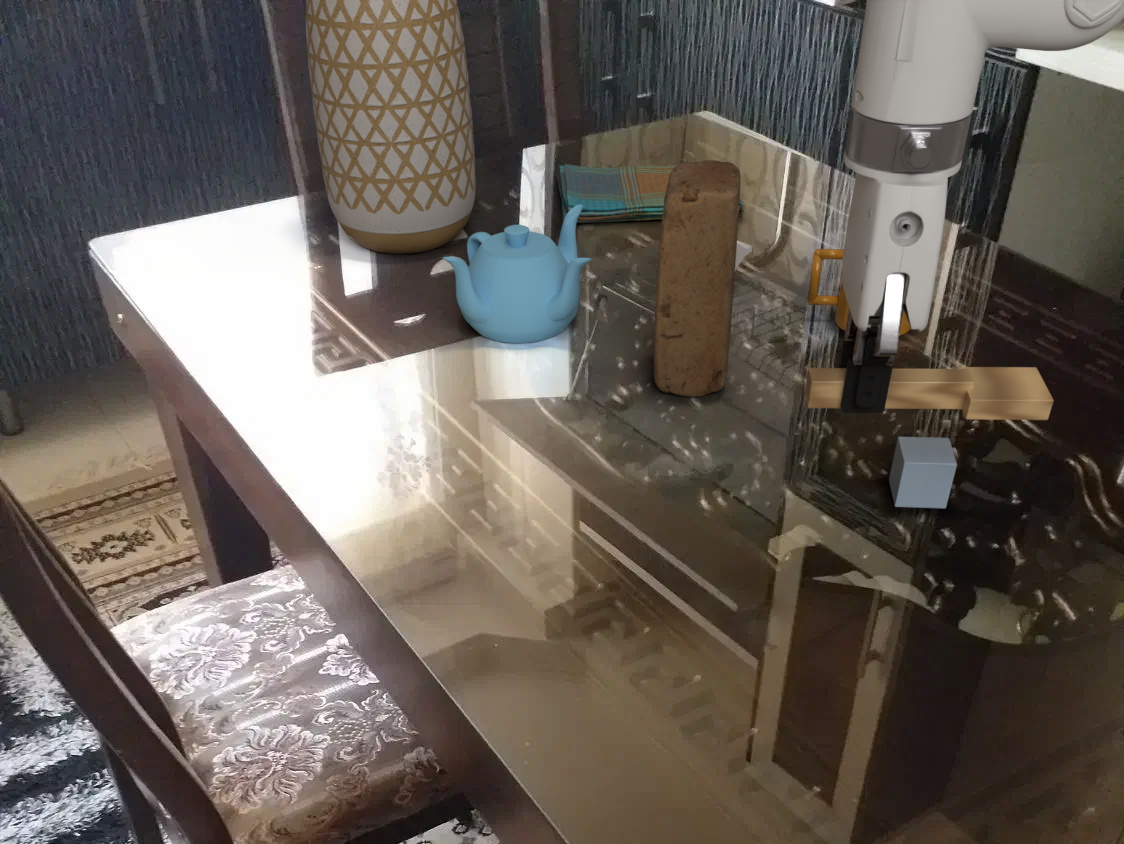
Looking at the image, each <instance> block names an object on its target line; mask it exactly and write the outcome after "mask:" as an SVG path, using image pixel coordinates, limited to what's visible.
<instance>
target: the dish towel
mask: <svg viewBox="0 0 1124 844" xmlns="http://www.w3.org/2000/svg"><path fill="white" fill-rule="evenodd" d="M677 165H678V164H673V165H670V164H669V165H668V164H667V165H631V166H629V165H627V166H615V167H614V166H612V167H610V166H609V167H600V166H599V167H598V166H591V167H590V166H581V165H575V164H570V163H565V164H563V165H562V164H560V165H558V166H557V185H558V190H559V194H560V200H561V213H562V214H561V216H562V217H561V219H562V222H563V221H564V219H565V216H566V215H567V213H568V212H569V211H570V210H571V209H572V208H573V207H575V206H576V205H579V204H581V205H583V208H582V211H581V213H580V215H579V217H578V219H577V223H576V224H586V223H587V224H589V223H608V222H609V223H610V222H611V223H612V222H613V223H614V222H626V221H634V222H635V221H652V220H662V215H663V209H664V198H665V194H666V189H667V185H668V180H669V175H670V173H671V171H672V169H673V168H674V167H675V166H677ZM743 207H744V203H743V201H742V200H741V199H740V201H739V216H738V217H742V216H743V213H744V208H743Z"/></svg>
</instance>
